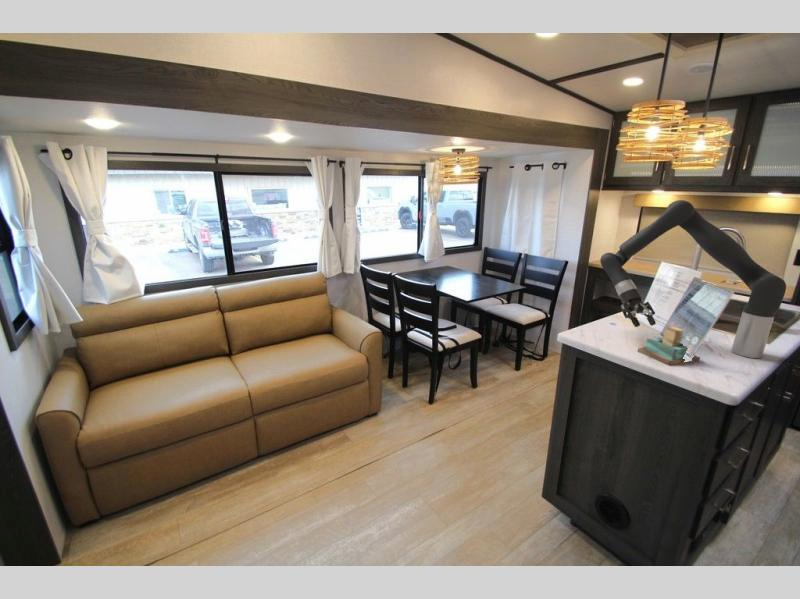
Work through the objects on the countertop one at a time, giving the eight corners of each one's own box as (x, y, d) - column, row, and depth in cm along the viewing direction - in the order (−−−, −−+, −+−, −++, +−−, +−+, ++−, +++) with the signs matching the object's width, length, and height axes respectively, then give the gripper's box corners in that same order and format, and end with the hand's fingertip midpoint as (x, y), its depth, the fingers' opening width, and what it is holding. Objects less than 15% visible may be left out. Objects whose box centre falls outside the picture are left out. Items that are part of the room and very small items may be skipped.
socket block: (667, 347, 154) (670, 335, 153) (699, 360, 142) (702, 347, 141) (637, 351, 150) (640, 338, 148) (668, 365, 138) (671, 351, 136)
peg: (667, 350, 148) (673, 326, 145) (677, 354, 144) (683, 330, 142) (660, 351, 147) (665, 327, 144) (669, 355, 143) (675, 331, 140)
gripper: (621, 288, 156) (639, 322, 149) (647, 287, 160) (666, 320, 153) (609, 297, 163) (626, 330, 155) (633, 295, 167) (651, 328, 159)
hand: (645, 325), depth 154 cm, fingers open, 8 cm apart
